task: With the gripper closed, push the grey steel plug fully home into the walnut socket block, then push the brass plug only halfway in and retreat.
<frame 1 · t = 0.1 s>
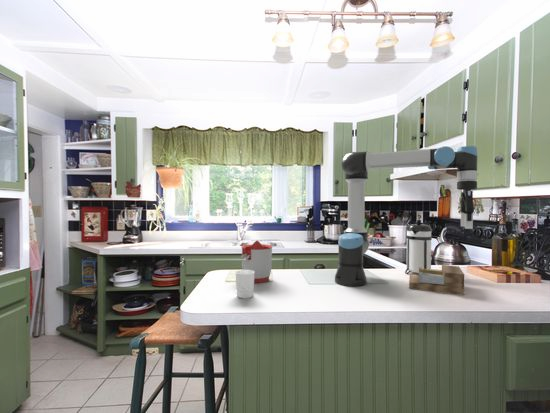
hand: (466, 227, 127), 28 cm above the countertop, fingers open, 13 cm apart
coffee press: (418, 273, 156), on the countertop
white cup: (245, 296, 116), on the countertop
socket block: (434, 286, 130), on the countertop
citrus juicer: (255, 280, 140), on the countertop
brass plug: (431, 273, 135), point 5 cm above the countertop, slide at 0.0 cm
grey steel plug: (432, 278, 126), point 5 cm above the countertop, slide at 0.0 cm
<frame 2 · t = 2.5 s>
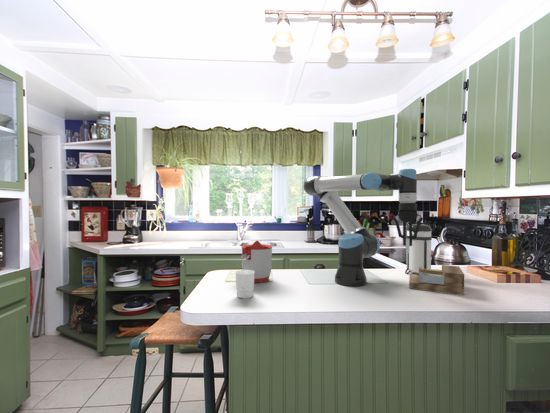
hand: (407, 252, 130), 16 cm above the countertop, fingers closed
nothing on the countertop moved.
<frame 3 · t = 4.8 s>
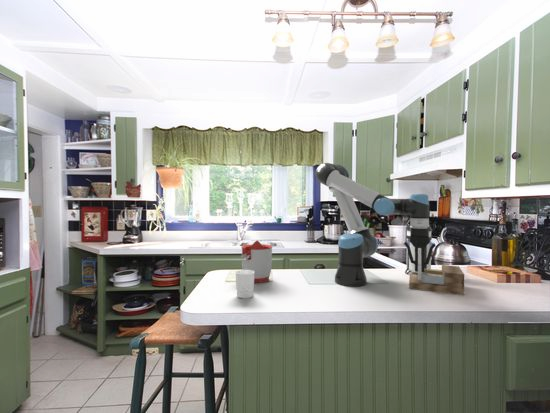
hand: (419, 278, 128), 4 cm above the countertop, fingers closed
grey steel plug: (435, 278, 125), point 5 cm above the countertop, slide at 1.0 cm, touching gripper
everything else where it was.
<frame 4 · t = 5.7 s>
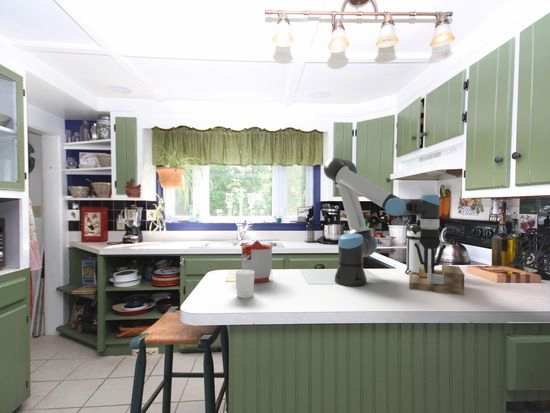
hand: (429, 280, 126), 4 cm above the countertop, fingers closed
grey steel plug: (445, 279, 123), point 5 cm above the countertop, slide at 4.9 cm, touching gripper
everything else where it was.
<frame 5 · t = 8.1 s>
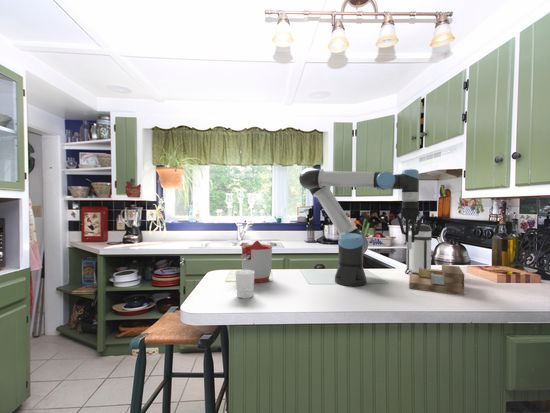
hand: (410, 248, 137), 16 cm above the countertop, fingers closed
grey steel plug: (445, 279, 123), point 5 cm above the countertop, slide at 4.8 cm
everything else where it was.
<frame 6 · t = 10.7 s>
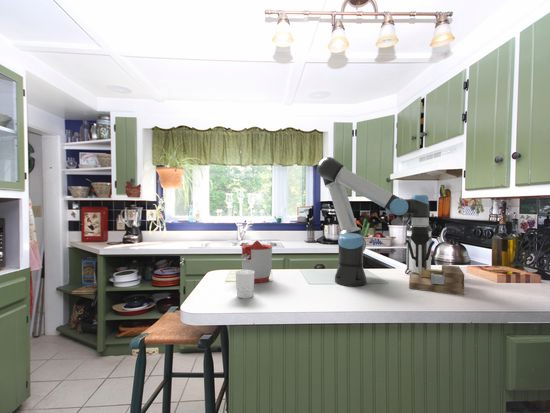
hand: (419, 273, 138), 4 cm above the countertop, fingers closed
brass plug: (434, 273, 135), point 5 cm above the countertop, slide at 1.2 cm, touching gripper
everything else where it was.
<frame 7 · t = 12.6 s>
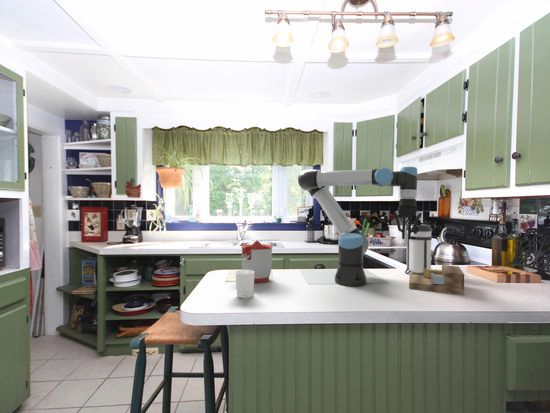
hand: (405, 245, 138), 18 cm above the countertop, fingers closed
brass plug: (436, 273, 134), point 5 cm above the countertop, slide at 2.1 cm
everything else where it was.
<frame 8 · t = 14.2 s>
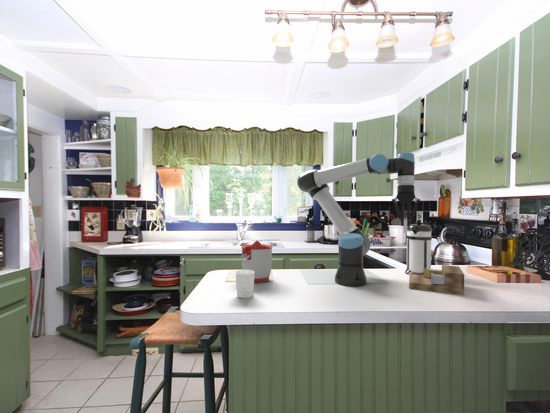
hand: (405, 232, 137), 24 cm above the countertop, fingers closed
nothing on the countertop moved.
at the end: grey steel plug slide at 4.8 cm; brass plug slide at 2.1 cm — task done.
